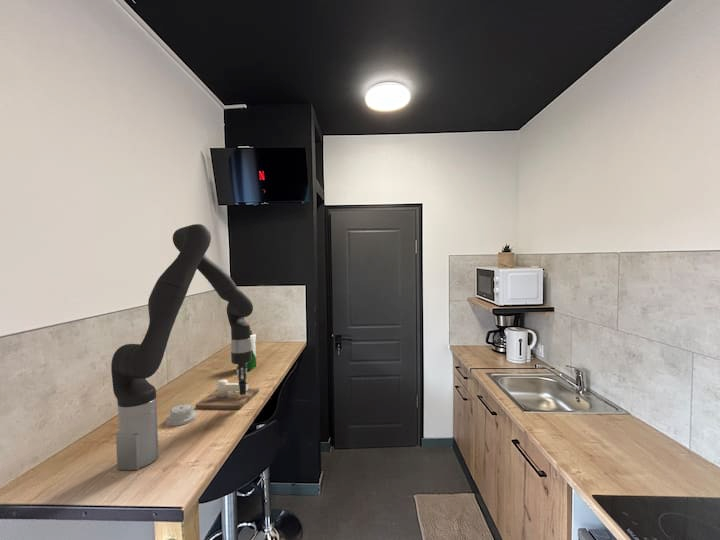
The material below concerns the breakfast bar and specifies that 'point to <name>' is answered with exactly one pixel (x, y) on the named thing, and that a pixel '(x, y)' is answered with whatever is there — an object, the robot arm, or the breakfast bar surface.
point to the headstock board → (227, 400)
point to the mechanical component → (181, 415)
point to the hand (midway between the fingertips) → (242, 394)
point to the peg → (227, 387)
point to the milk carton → (253, 347)
